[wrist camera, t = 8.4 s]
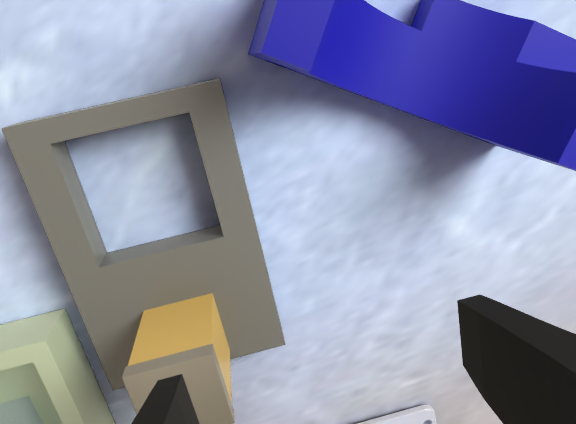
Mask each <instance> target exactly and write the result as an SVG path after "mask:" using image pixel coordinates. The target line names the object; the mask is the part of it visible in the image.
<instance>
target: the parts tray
mask: <svg viewBox="0 0 576 424" xmlns="http://www.w3.org/2000/svg"><path fill="white" fill-rule="evenodd" d="M26 396H29V398H30V400H31V402H32V404H33V405H34V407H35V409H36V411H37V413H38V415H39V416H40V418H41V420H42V422H43V424H115V422H114V419H113V417H112V415H111V412H110V410H109V408H108V406H107V403H106V401H105V399H104V396H103V394H102V392H101V390H100V387H99V385H98V383H97V380H96V378H95V376H94V373H93V371H92V369H91V367H90V364H89V362H88V360H87V357H86V355H85V353H84V351H83V348H82V346H81V344H80V341H79V339H78V337H77V334H76V332H75V330H74V328H73V325H72V323H71V321H70V318H69V316H68V314H67V312H66V309H61V310H57V311H53V312H49V313H45V314H41V315H37V316H33V317H29V318H25V319H21V320H17V321H13V322H9V323H6V324H2V325H0V404H1V403H5V402H8V401H12V400H15V399H19V398H22V397H26Z"/></svg>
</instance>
